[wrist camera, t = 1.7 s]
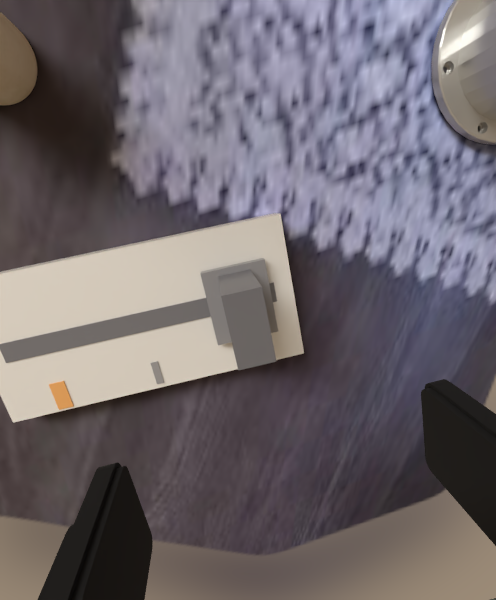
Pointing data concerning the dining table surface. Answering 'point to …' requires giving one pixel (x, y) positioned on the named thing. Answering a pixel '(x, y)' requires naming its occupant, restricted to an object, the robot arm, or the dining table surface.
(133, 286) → the fader console
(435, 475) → the robot arm
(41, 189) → the dining table surface
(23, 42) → the candle
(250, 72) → the dining table surface
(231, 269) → the fader tab
